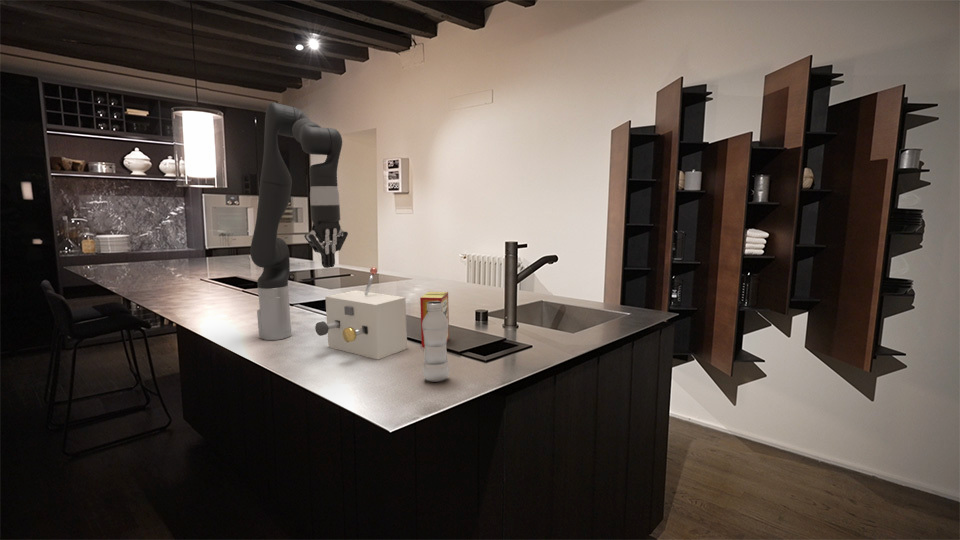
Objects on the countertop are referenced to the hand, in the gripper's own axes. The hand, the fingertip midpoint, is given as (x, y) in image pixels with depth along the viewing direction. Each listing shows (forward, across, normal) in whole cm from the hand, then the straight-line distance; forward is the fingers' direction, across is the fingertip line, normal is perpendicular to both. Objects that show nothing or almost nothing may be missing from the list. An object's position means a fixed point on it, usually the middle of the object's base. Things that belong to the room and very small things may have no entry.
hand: (328, 267), depth 133 cm
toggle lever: (+11, +14, +1) cm, 18 cm away
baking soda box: (+27, +29, -13) cm, 42 cm away
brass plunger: (+21, +5, -5) cm, 22 cm away
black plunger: (+21, +5, +7) cm, 23 cm away
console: (+27, +14, +2) cm, 30 cm away
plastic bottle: (+27, +5, -34) cm, 43 cm away
